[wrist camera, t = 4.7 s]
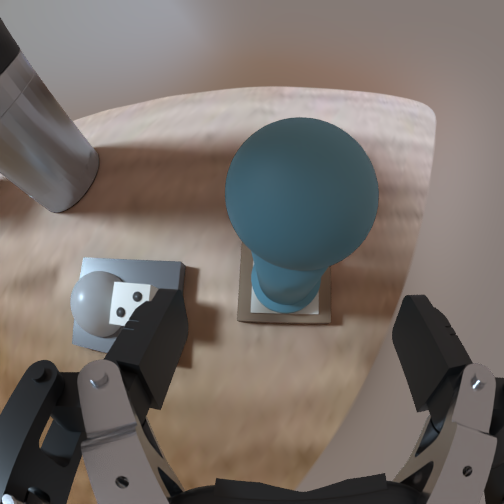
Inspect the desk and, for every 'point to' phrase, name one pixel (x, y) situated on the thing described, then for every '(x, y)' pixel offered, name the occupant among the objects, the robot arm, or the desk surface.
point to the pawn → (299, 206)
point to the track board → (257, 312)
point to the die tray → (129, 276)
